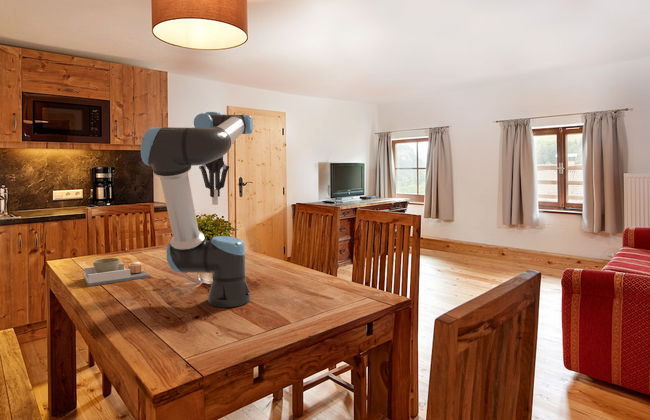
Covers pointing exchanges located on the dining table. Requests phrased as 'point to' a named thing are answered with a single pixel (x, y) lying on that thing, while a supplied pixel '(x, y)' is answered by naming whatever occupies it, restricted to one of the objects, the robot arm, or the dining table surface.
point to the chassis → (111, 276)
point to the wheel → (136, 267)
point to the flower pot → (106, 265)
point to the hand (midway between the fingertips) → (215, 204)
